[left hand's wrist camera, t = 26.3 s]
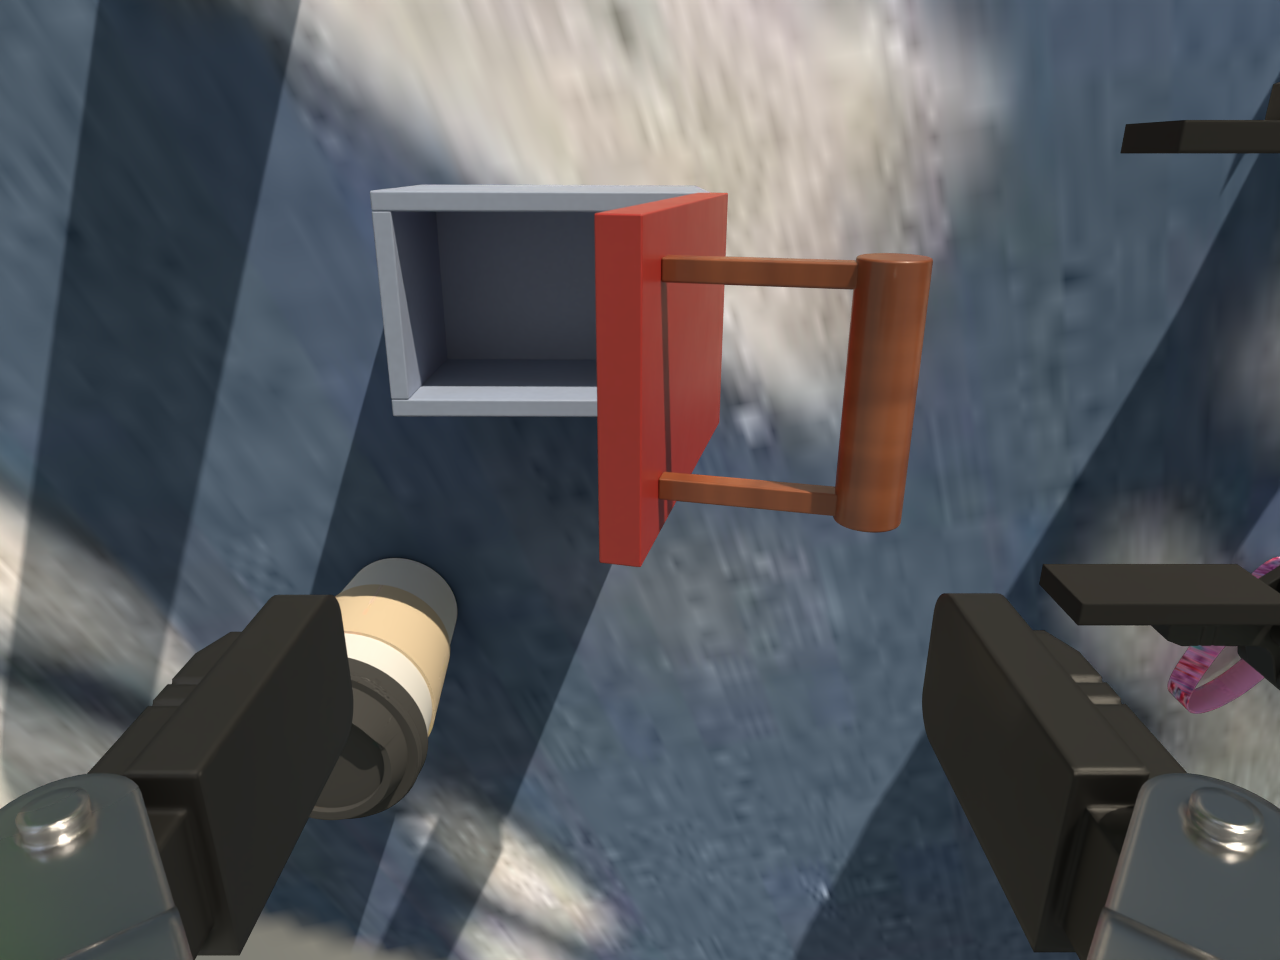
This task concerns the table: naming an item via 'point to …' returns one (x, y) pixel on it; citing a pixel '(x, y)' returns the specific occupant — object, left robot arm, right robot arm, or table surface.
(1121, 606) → the right robot arm
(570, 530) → the table surface
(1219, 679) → the headband
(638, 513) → the lid
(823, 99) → the table surface
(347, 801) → the coffee cup
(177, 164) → the table surface
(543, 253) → the chest
